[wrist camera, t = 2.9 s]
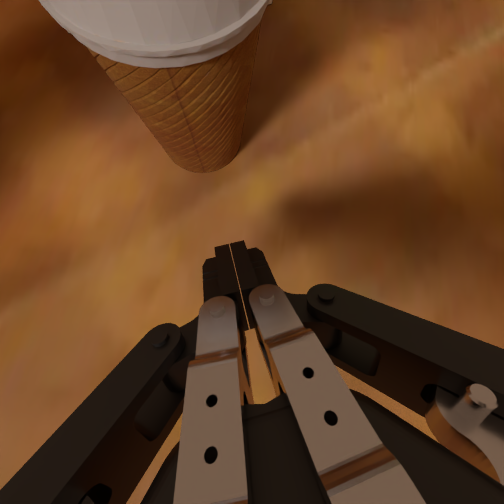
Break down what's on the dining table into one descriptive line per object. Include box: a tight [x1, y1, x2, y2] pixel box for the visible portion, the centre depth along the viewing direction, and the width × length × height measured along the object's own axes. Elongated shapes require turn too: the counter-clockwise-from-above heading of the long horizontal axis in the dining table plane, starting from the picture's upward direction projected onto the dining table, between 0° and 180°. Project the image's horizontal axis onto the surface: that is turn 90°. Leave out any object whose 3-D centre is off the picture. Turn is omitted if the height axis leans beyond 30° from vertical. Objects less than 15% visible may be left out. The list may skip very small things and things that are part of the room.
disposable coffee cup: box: [39, 0, 270, 173], centre depth 14 cm, size 10×10×12 cm
